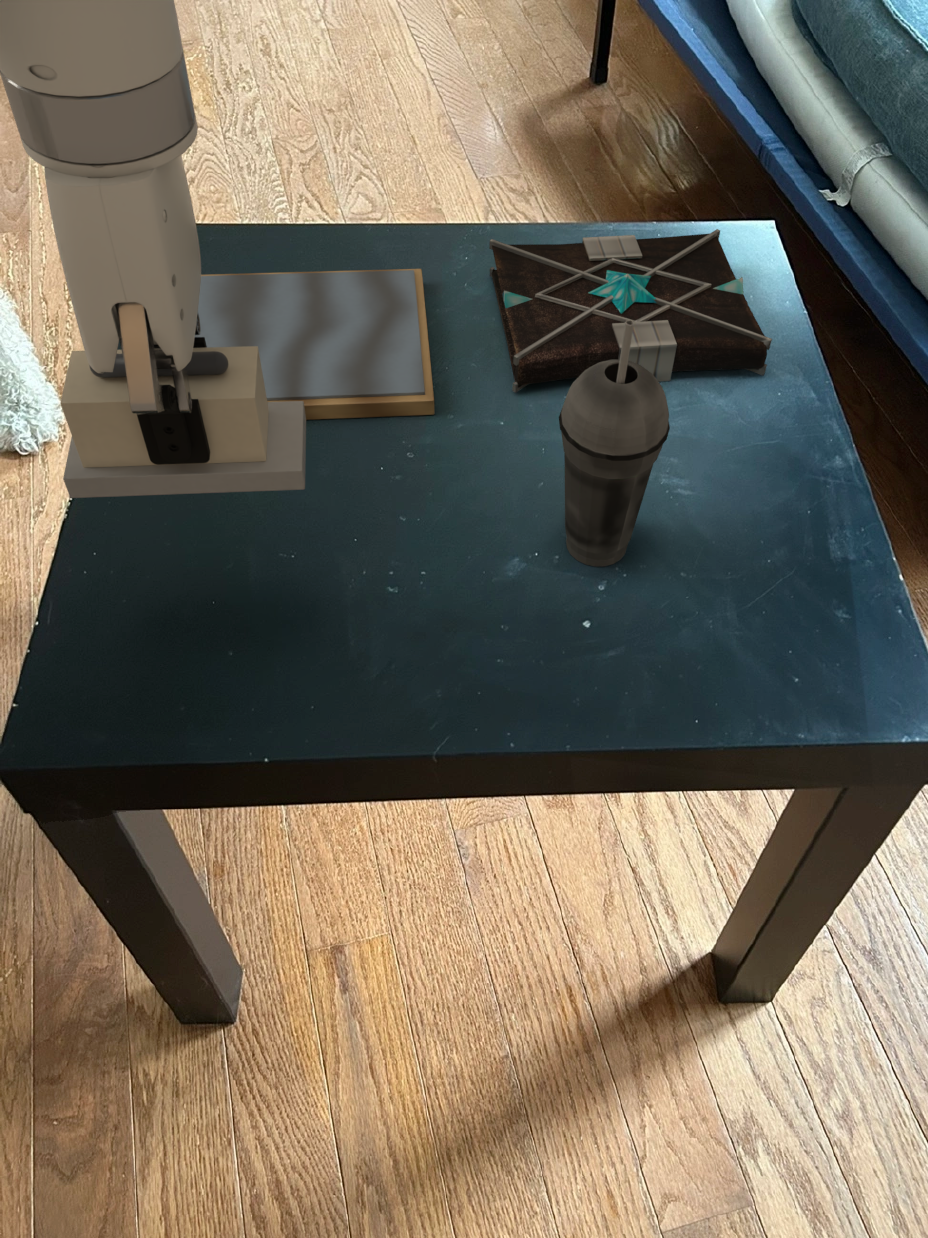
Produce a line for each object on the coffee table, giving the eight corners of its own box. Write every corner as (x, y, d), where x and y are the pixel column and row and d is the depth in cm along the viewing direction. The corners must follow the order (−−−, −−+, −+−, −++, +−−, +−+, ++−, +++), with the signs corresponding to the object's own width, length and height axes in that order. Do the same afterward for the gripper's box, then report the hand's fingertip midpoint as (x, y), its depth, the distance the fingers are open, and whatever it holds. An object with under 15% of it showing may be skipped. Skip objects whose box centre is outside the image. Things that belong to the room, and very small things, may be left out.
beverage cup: (647, 513, 83) (692, 279, 67) (644, 585, 79) (691, 354, 63) (551, 504, 83) (573, 268, 67) (543, 575, 79) (564, 342, 63)
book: (512, 395, 91) (515, 344, 87) (484, 275, 101) (485, 224, 97) (765, 377, 93) (779, 327, 89) (714, 262, 103) (724, 212, 99)
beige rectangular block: (70, 498, 62) (30, 395, 56) (83, 427, 65) (48, 323, 59) (305, 490, 63) (290, 388, 57) (306, 420, 66) (292, 317, 61)
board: (181, 425, 87) (177, 407, 86) (196, 289, 98) (192, 271, 96) (434, 415, 89) (434, 397, 88) (422, 283, 100) (421, 265, 98)
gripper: (42, 12, 52) (132, 338, 67) (-24, 208, 42) (98, 540, 57) (204, 13, 53) (258, 335, 68) (176, 206, 43) (246, 534, 58)
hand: (184, 426), depth 62 cm, fingers closed on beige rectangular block, 4 cm apart
